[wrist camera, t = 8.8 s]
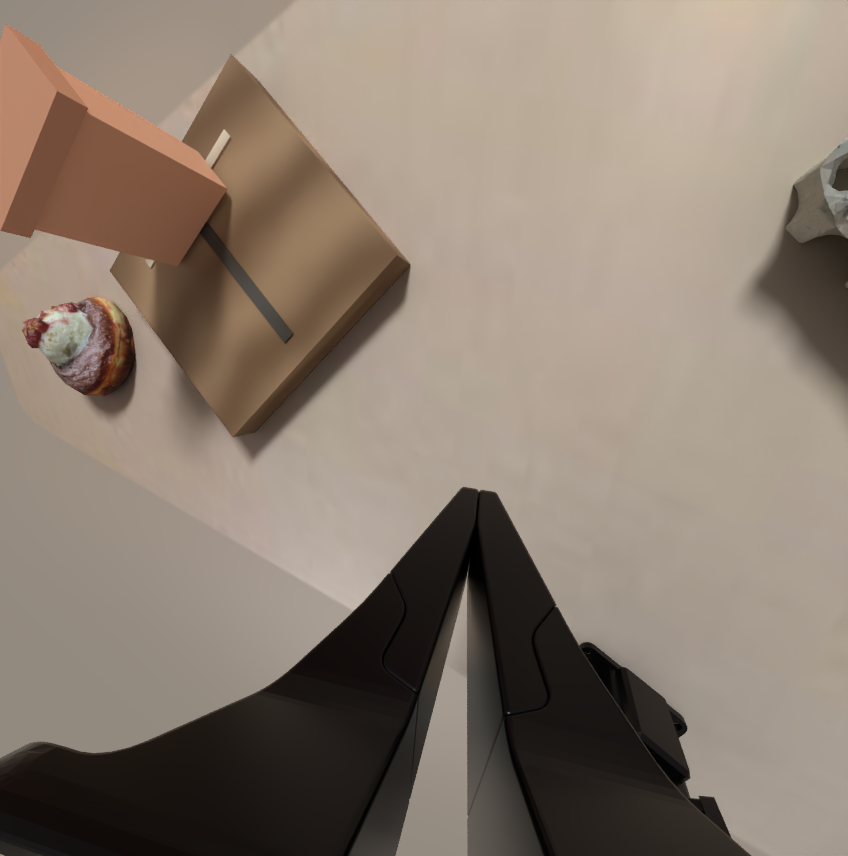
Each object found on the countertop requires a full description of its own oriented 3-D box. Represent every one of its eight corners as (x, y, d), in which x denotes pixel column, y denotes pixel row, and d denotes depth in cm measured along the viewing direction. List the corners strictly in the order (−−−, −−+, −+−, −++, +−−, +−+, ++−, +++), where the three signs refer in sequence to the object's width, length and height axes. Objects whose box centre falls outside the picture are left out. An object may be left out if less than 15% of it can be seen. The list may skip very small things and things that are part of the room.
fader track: (410, 264, 21) (396, 254, 19) (254, 432, 27) (231, 437, 25) (257, 79, 23) (229, 52, 21) (139, 276, 28) (108, 270, 26)
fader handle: (233, 188, 22) (56, 90, 14) (177, 273, 24) (0, 230, 16) (197, 143, 22) (6, 23, 14) (146, 232, 24) (-43, 170, 16)
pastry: (105, 278, 30) (21, 262, 25) (155, 354, 29) (80, 352, 24) (64, 342, 32) (-19, 339, 28) (109, 412, 32) (33, 421, 27)
